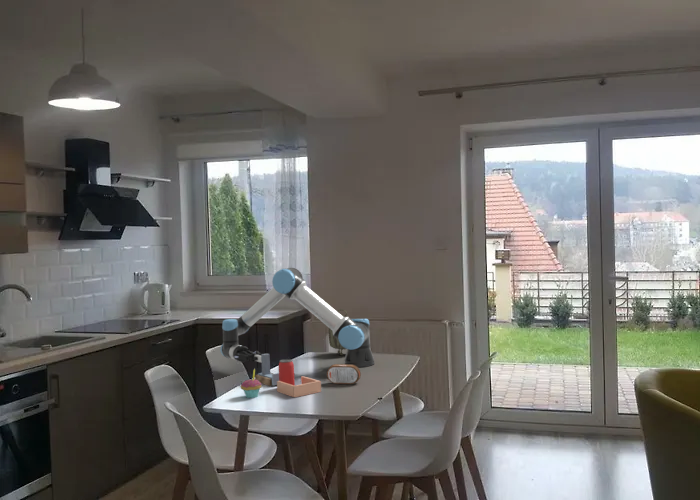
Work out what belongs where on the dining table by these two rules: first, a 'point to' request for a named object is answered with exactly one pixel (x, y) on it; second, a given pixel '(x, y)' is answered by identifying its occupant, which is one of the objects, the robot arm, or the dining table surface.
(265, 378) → the launcher rail
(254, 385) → the cupcake
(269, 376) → the grey post stand
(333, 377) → the tin
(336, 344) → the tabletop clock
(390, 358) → the dining table surface
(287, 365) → the beer can
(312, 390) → the cup corral
